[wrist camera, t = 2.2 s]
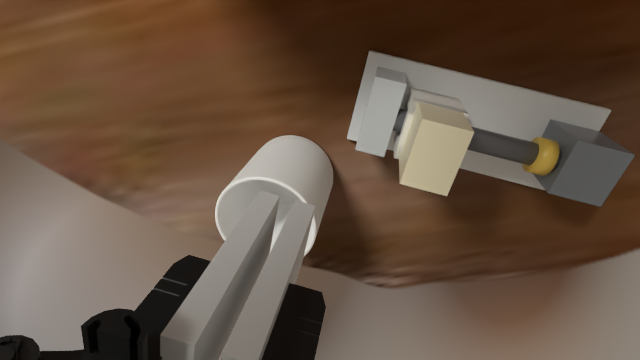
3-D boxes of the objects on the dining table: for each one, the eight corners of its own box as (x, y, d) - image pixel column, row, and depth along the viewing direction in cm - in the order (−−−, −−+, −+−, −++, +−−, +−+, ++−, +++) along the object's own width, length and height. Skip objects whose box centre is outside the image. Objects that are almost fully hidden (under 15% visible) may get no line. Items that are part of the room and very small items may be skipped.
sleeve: (393, 137, 33) (393, 182, 25) (410, 86, 30) (416, 117, 23) (438, 149, 32) (452, 197, 25) (458, 98, 30) (481, 133, 22)
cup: (336, 136, 36) (317, 183, 27) (331, 239, 41) (314, 306, 32) (254, 129, 37) (209, 172, 28) (259, 230, 42) (223, 293, 33)
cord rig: (347, 135, 36) (339, 160, 30) (369, 49, 32) (364, 60, 27) (557, 190, 34) (588, 226, 29) (606, 107, 31) (651, 131, 25)
